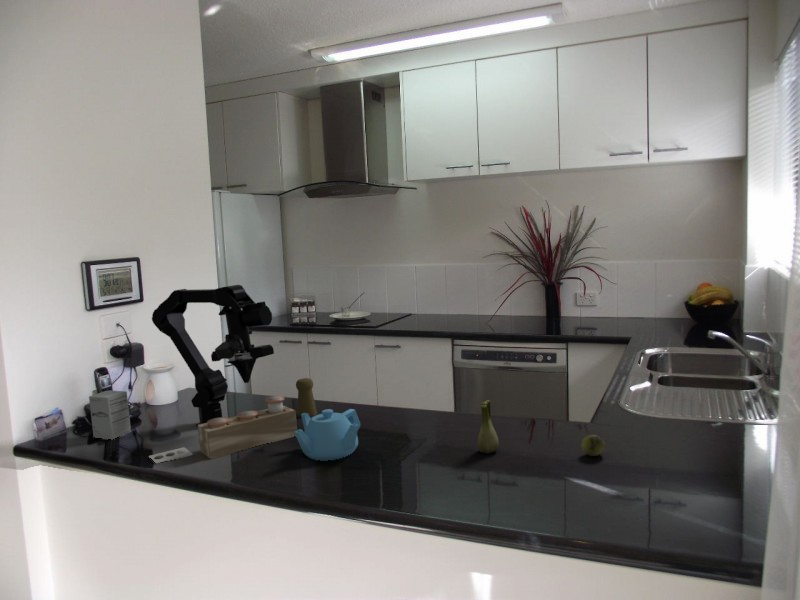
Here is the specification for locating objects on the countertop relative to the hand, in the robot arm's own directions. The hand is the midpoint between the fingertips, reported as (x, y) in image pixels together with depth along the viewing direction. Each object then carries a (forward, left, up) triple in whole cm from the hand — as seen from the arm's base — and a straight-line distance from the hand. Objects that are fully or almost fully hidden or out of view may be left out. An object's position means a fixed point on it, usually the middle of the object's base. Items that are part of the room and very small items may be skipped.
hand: (246, 382), depth 179 cm
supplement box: (-34, -21, -13) cm, 42 cm away
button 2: (+14, -3, -8) cm, 16 cm away
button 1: (+8, -18, -10) cm, 22 cm away
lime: (+95, +13, -13) cm, 96 cm away
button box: (+11, -11, -13) cm, 20 cm away
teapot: (+36, -8, -13) cm, 39 cm away
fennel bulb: (+72, +7, -13) cm, 73 cm away
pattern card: (-2, -26, -13) cm, 29 cm away
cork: (+8, +16, -13) cm, 22 cm away
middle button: (+11, -11, -10) cm, 18 cm away
